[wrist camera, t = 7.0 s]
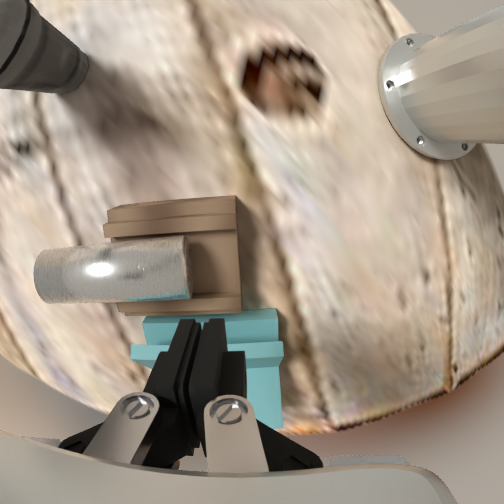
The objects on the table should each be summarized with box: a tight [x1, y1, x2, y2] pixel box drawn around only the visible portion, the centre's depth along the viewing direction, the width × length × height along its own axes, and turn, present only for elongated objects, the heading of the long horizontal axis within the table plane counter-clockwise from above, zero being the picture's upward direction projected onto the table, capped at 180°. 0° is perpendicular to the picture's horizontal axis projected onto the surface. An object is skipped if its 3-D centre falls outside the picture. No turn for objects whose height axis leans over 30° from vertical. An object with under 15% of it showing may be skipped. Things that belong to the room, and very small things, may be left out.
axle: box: [34, 235, 194, 304], centre depth 21 cm, size 12×4×4 cm, turn 94°
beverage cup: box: [0, 0, 88, 94], centre depth 12 cm, size 7×7×20 cm
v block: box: [131, 308, 284, 429], centre depth 27 cm, size 12×10×6 cm
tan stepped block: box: [103, 195, 242, 316], centre depth 24 cm, size 10×9×4 cm
